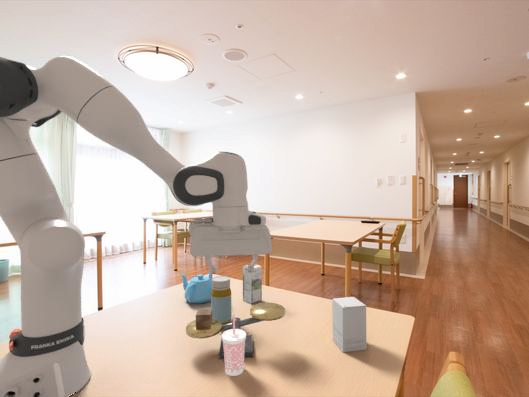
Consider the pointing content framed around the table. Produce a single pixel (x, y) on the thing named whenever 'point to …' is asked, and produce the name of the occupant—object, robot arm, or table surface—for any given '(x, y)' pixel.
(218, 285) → the bottle
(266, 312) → the balance
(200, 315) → the walnut block
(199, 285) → the teapot
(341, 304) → the supplement box
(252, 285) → the syrup box
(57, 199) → the robot arm
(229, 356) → the beverage cup
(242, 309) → the table surface
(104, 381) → the table surface
